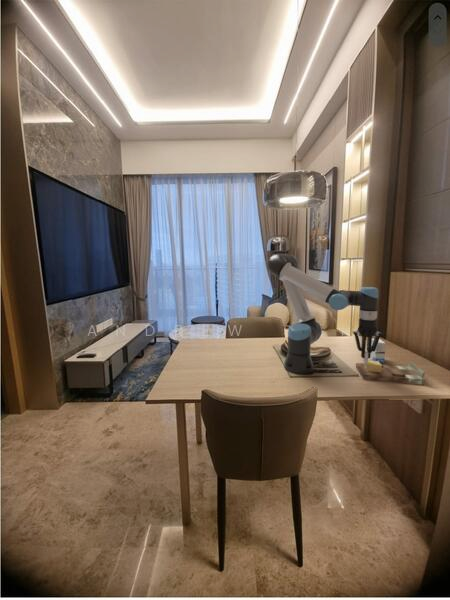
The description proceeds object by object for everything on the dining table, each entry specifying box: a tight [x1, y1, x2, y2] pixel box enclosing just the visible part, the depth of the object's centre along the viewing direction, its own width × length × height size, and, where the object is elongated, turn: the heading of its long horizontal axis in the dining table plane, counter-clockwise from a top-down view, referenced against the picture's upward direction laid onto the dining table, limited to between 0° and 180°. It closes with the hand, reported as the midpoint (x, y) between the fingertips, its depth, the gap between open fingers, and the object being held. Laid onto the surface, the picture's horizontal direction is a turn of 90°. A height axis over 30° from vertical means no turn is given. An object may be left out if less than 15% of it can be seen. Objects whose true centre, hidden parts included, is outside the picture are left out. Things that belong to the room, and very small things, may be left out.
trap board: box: [355, 360, 425, 386], centre depth 122 cm, size 25×14×6 cm, turn 75°
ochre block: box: [365, 360, 383, 372], centre depth 124 cm, size 6×5×4 cm
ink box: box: [369, 337, 386, 364], centre depth 141 cm, size 9×5×12 cm, turn 168°
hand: (365, 364), depth 125 cm, fingers closed
